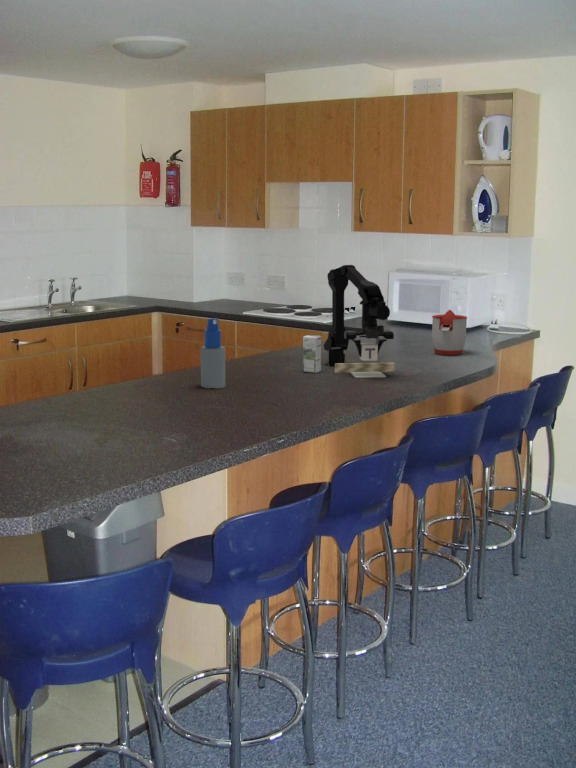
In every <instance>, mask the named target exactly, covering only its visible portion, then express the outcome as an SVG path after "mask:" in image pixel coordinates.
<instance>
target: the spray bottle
mask: <svg viewBox="0 0 576 768" xmlns="http://www.w3.org/2000/svg"><path fill="white" fill-rule="evenodd" d="M200 387H201V388H203V387H204V389H210V388H215V389H223V388H225V387H226V348H225V346H223V345H222V330H221V329H220V327H219V320H218V317H212V318H207V324H206V329H205V330H204V345H203V346H201V348H200Z"/></svg>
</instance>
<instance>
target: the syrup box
mask: <svg viewBox="0 0 576 768" xmlns="http://www.w3.org/2000/svg"><path fill="white" fill-rule="evenodd" d="M321 359H322V336H321V335H315V334H306V335H304V336H302V372H303V373H314V374H316V373H319V372H321V371H322V360H321Z"/></svg>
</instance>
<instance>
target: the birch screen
mask: <svg viewBox="0 0 576 768" xmlns="http://www.w3.org/2000/svg"><path fill="white" fill-rule="evenodd" d="M395 364H396V363H395V362H348V363H347V362H345V363H335V366H334V374H335V373H336V374H338V373H339V374H340V373H345V374H346V373H351V372H381V373H395Z"/></svg>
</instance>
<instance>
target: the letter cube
mask: <svg viewBox="0 0 576 768" xmlns="http://www.w3.org/2000/svg"><path fill="white" fill-rule="evenodd" d="M378 355H379V353H378V345H377V344H376V342H361V357H360V356H359V355H358V356H359V359H360V360H361V361H362V362H363V361H364V362H365V361H367V362H368V361H369V362H370V361H378Z"/></svg>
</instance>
